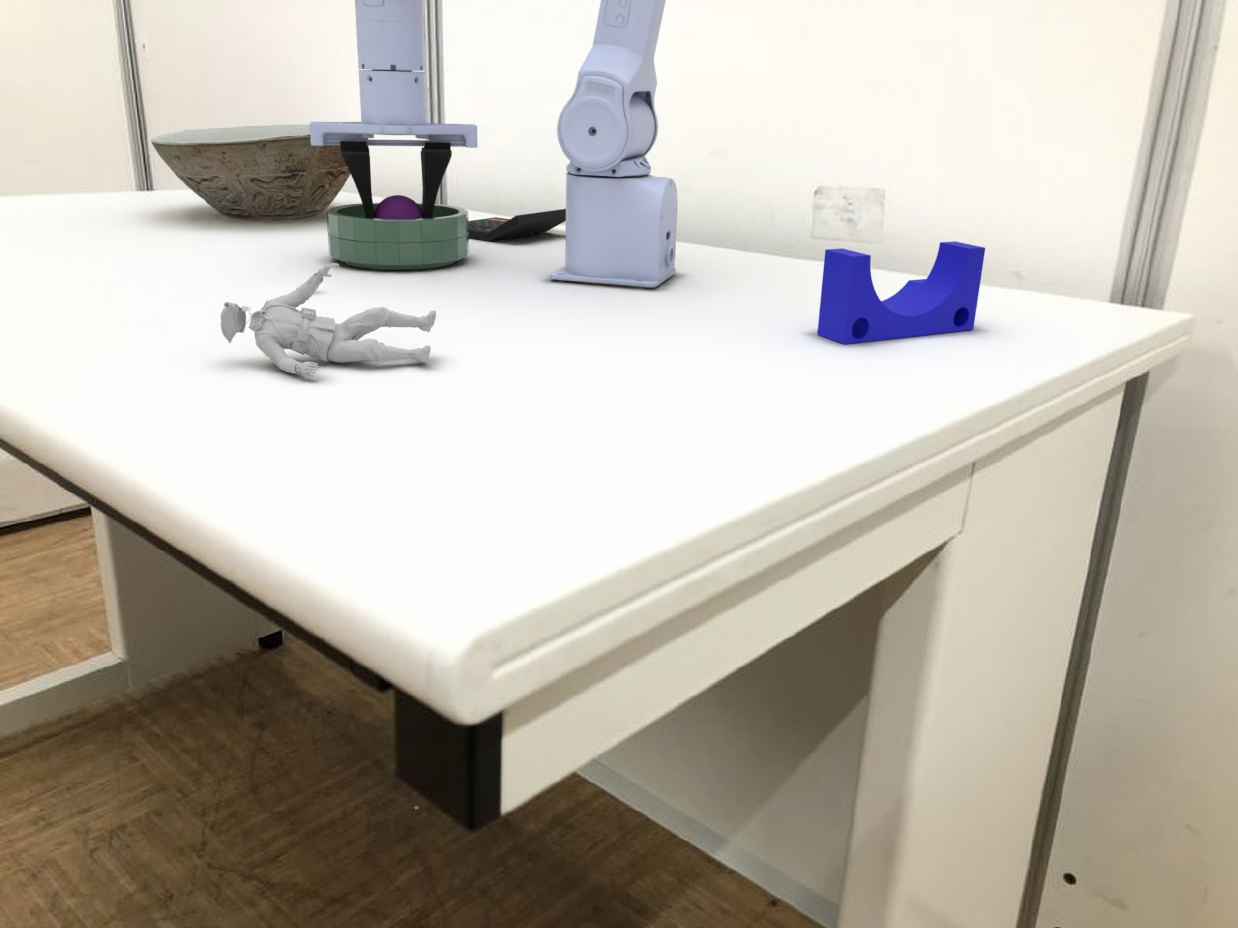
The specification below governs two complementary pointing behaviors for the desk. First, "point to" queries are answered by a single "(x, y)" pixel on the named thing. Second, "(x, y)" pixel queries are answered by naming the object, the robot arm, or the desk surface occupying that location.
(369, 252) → the green bowl
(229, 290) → the desk surface
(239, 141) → the bowl
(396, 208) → the ball
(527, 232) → the calculator
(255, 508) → the desk surface
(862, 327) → the blue pipe saddle bracket
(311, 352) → the soldier figure
